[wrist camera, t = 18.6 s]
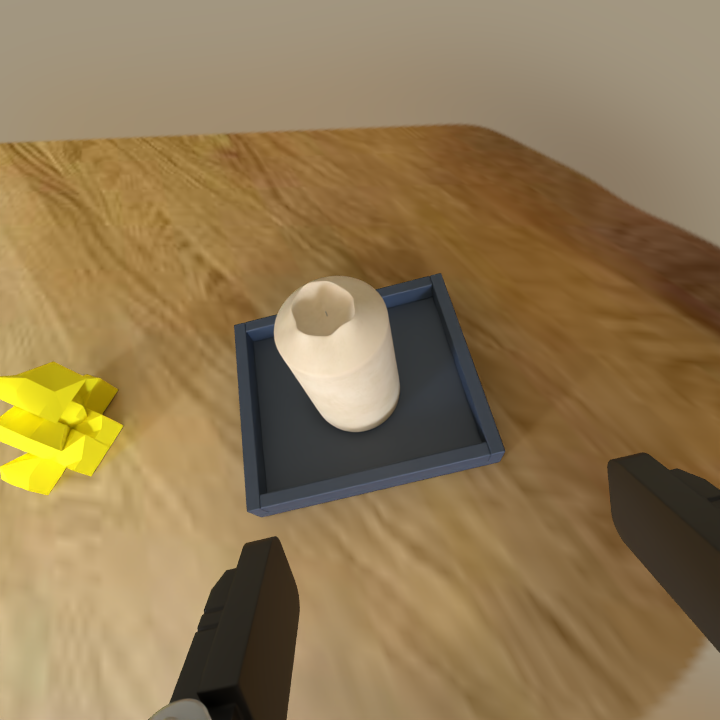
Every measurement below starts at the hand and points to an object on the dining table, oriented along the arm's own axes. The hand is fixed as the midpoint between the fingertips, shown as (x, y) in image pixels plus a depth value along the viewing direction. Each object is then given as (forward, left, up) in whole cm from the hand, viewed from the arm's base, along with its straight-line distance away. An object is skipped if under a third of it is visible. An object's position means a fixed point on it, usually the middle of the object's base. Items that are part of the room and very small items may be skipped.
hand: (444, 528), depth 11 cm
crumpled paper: (+22, -13, -15) cm, 30 cm away
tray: (+2, -11, -15) cm, 19 cm away
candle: (+2, -10, -15) cm, 18 cm away
